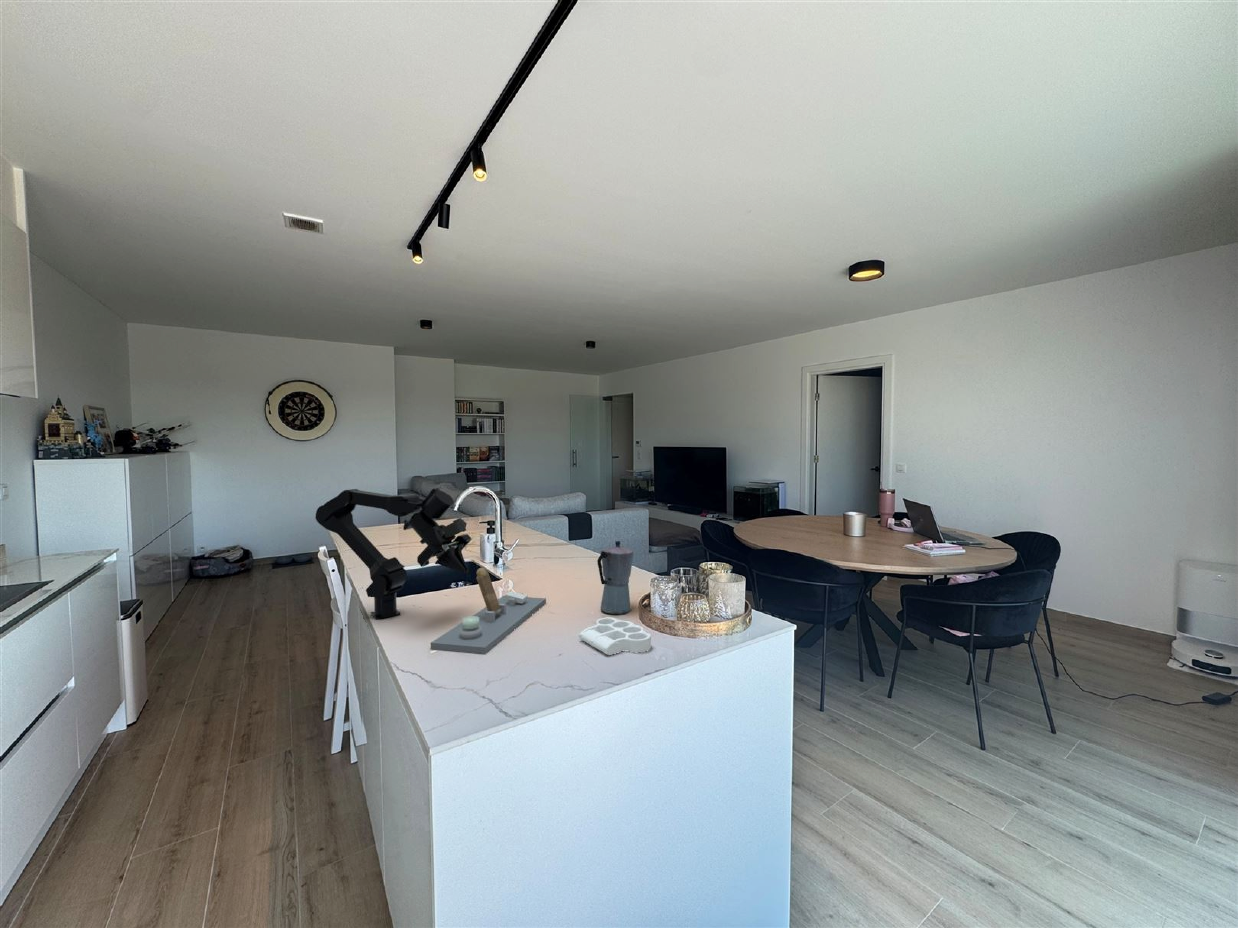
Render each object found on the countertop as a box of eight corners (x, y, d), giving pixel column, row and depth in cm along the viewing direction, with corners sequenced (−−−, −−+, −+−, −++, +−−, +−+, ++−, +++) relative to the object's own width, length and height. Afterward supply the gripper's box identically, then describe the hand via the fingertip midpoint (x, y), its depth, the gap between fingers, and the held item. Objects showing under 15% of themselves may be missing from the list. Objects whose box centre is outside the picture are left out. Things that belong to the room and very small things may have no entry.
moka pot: (643, 606, 146) (642, 539, 146) (614, 621, 133) (614, 548, 133) (616, 600, 152) (615, 536, 151) (586, 615, 139) (585, 544, 138)
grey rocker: (504, 599, 144) (505, 594, 144) (509, 595, 148) (510, 591, 148) (522, 603, 143) (522, 598, 143) (527, 599, 147) (527, 595, 147)
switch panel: (430, 648, 116) (430, 631, 116) (503, 600, 153) (503, 587, 153) (485, 653, 113) (484, 636, 113) (546, 603, 150) (545, 589, 150)
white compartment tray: (572, 638, 123) (619, 625, 131) (614, 663, 108) (664, 647, 117) (572, 625, 123) (619, 613, 131) (614, 648, 108) (664, 633, 117)
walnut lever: (488, 620, 131) (471, 571, 132) (496, 614, 135) (479, 567, 136) (496, 617, 130) (480, 568, 131) (504, 612, 135) (488, 564, 135)
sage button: (458, 628, 119) (458, 620, 119) (467, 622, 123) (467, 615, 123) (474, 629, 118) (473, 622, 118) (482, 623, 122) (482, 616, 122)
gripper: (426, 514, 126) (466, 559, 124) (465, 506, 144) (500, 545, 142) (400, 544, 128) (438, 588, 126) (441, 532, 146) (476, 571, 144)
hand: (465, 571), depth 135 cm, fingers closed
